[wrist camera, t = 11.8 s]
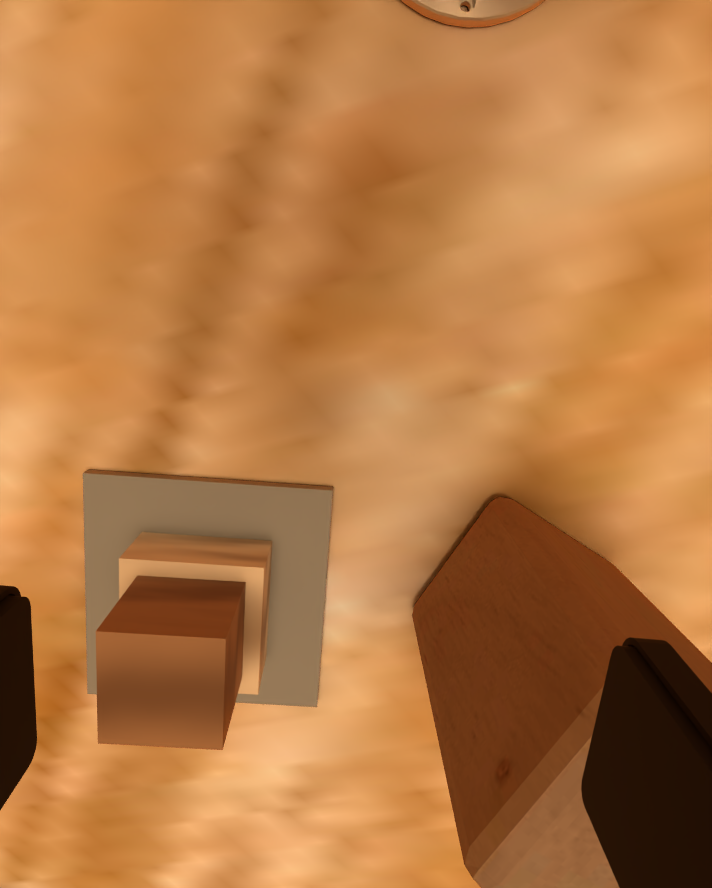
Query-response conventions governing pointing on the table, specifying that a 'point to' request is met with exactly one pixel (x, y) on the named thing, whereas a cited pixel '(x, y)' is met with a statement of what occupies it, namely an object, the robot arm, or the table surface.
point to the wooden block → (527, 691)
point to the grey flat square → (230, 516)
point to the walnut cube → (170, 663)
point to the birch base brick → (212, 563)
